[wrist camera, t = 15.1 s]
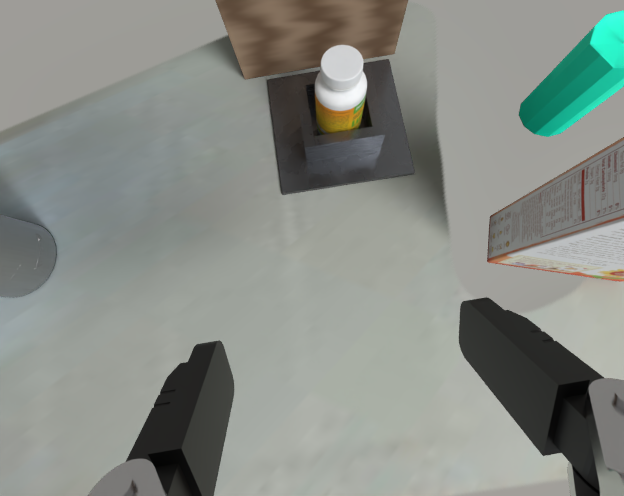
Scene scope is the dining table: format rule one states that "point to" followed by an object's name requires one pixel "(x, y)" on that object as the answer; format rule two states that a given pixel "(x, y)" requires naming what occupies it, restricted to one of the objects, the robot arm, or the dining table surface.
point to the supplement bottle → (340, 90)
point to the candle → (578, 80)
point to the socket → (338, 135)
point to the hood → (307, 31)
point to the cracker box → (568, 222)
